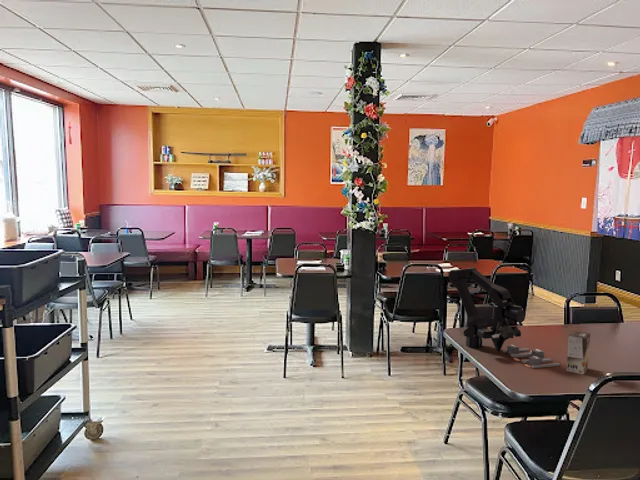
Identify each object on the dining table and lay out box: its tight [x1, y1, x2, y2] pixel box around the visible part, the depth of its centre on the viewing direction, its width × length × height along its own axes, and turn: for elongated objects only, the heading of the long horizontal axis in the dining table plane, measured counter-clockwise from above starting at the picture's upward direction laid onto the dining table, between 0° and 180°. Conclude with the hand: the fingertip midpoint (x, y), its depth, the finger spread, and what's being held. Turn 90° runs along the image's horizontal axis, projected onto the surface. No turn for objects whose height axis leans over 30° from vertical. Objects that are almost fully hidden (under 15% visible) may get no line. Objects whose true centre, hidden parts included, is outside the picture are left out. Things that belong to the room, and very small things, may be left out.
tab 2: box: [530, 348, 545, 358], centre depth 202 cm, size 4×3×4 cm
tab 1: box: [506, 344, 520, 356], centre depth 208 cm, size 4×3×4 cm
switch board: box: [503, 348, 561, 369], centre depth 202 cm, size 16×20×2 cm
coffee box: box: [565, 330, 591, 375], centre depth 189 cm, size 9×6×16 cm
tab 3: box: [528, 356, 543, 366], centre depth 194 cm, size 4×3×4 cm
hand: (498, 351), depth 207 cm, fingers closed
